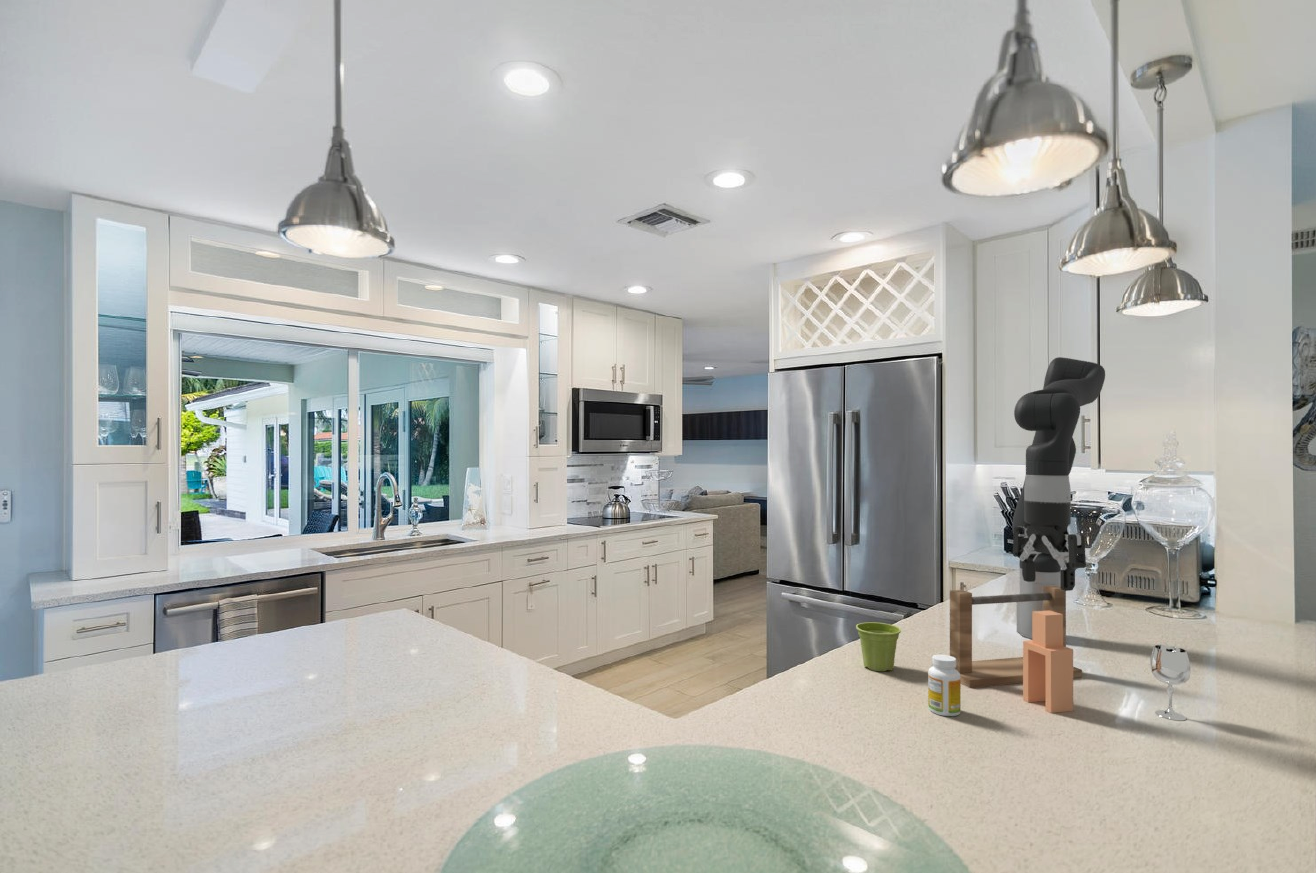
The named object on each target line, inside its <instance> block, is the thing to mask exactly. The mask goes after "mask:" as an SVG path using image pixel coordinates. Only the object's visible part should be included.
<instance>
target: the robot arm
mask: <svg viewBox="0 0 1316 873" xmlns="http://www.w3.org/2000/svg"><path fill="white" fill-rule="evenodd" d="M1105 380H1106V370H1105V368H1104V367H1103V365H1101V364H1099V363H1096V362H1091V361H1086V360H1080V359H1075V358H1068V357H1061V356H1060V357H1059V356H1058V357H1055V358H1054V359H1052V360H1051V361H1050V363H1049V365H1048V367H1047V369H1046V373H1045V376H1044V382H1043V388H1042V389H1039V390H1035V391H1031V392H1028V393H1026V394H1023V395H1022V396H1021V397H1020V398H1019V399H1018V400H1017V402H1016V404H1015V406H1014V411H1013V414H1014V420H1015V423H1016V424H1017V425H1018V427H1020V428H1021V429H1023V430H1025V431H1029V432H1034V436H1033V441H1032V443H1031V444H1030V445H1029V446H1027V447H1026V448H1025V477H1024V482H1023V485H1022V490H1021V492H1020V495H1019V498H1018V501H1017V503H1016V507H1015V509H1014V513H1013V517H1012V524H1011V525H1012V528H1011V529H1012V534H1013V538H1012V556H1014V557H1015V558H1016V557H1017V558H1019V594H1034V593H1043V586H1050V585H1055V586H1059V587H1061V590H1065V591H1066V592H1070V591H1073V590H1074V588H1075V586H1076V570H1078V569H1084V568H1086V566H1087V561H1086V544H1085V535H1084V534H1083V533H1076V534H1075V533H1073V534H1070V533H1069V530H1068V527H1069V526H1070V525H1071V522H1072V519H1071V518H1072V517H1071V516H1072V515H1071V513H1072V512H1071V509H1072V508H1071V505H1072V502H1071V498H1072V496H1071V494H1072V492H1071V491H1072V490H1071V483H1070V476H1069V475H1070V473H1071V471H1072V468H1073V465H1074V461H1075V457H1076V454H1077V448H1076V442H1075V441H1074V440H1075V439H1074V438H1073V436H1074V434H1075V430H1076V427H1077V424H1078V422H1079V418H1080V415H1081V407H1084V406H1086V405H1089V404H1090V405H1091V404H1092V403H1094V402H1095V401H1096V400H1097V398H1098V397H1099V396H1100V394H1101V392H1102V389H1103V386H1104V382H1105ZM1033 611H1043V601H1028V602H1016V633H1019V635H1020V636H1023V637H1024V638H1028V639H1030V640H1032V612H1033Z"/></svg>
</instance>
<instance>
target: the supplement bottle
mask: <svg viewBox="0 0 1316 873" xmlns="http://www.w3.org/2000/svg"><path fill="white" fill-rule="evenodd" d="M932 665H933V666H931V667H929V669H928V672H927V674H928V677H927V678H928V680H927V681H928V685H927V687H928V696H927V697H928V698H927V699H928V700H927V701H928V703H927V704H928V706H927V707H928V710H929V711H930V712H932V713H934V714H935V715H939V716H943V717H956V716H959V715H960V714H961V707H962V706H961V678H960V673H959V672H958V671H957V670H956V669H955V668H956V658H954V657H952V656H950V654H949V655H947V654H934V655H932Z"/></svg>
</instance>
